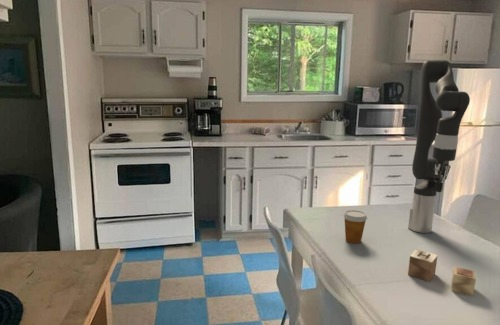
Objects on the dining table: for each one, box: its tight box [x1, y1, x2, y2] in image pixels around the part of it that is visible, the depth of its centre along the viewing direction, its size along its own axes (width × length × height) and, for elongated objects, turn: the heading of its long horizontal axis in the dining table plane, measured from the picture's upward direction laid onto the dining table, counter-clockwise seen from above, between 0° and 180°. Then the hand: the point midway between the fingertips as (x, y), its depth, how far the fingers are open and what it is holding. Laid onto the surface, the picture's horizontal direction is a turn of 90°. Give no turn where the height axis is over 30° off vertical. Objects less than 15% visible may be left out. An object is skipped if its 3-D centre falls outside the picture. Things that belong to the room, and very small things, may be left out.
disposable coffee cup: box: [343, 209, 368, 244], centre depth 157 cm, size 10×10×12 cm
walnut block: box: [407, 249, 439, 282], centre depth 129 cm, size 7×7×7 cm
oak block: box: [451, 266, 477, 297], centre depth 120 cm, size 6×6×6 cm
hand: (438, 191), depth 141 cm, fingers closed
